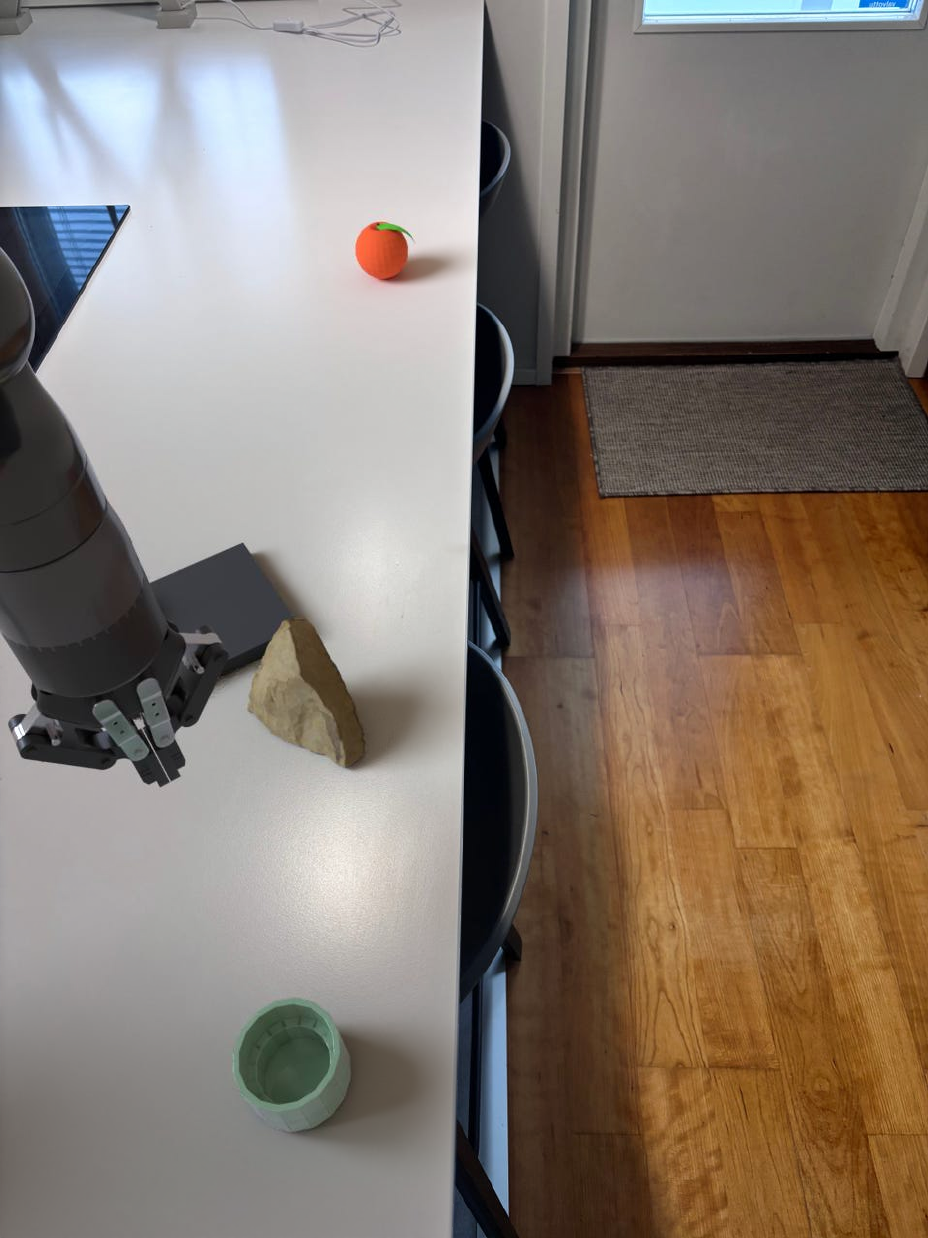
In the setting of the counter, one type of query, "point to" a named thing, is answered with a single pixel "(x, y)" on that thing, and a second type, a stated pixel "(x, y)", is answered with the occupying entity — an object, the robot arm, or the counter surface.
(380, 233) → the clementine
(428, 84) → the counter surface
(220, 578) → the scale
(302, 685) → the rock
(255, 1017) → the bowl
